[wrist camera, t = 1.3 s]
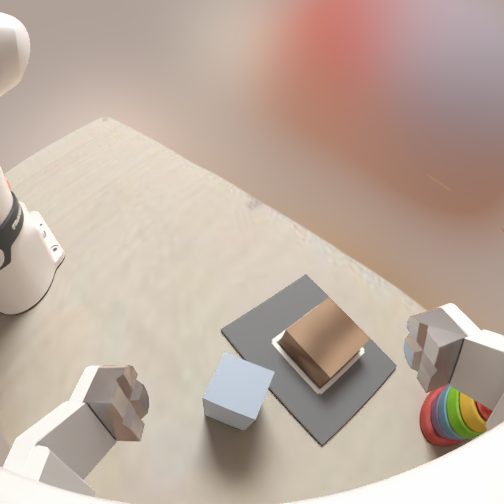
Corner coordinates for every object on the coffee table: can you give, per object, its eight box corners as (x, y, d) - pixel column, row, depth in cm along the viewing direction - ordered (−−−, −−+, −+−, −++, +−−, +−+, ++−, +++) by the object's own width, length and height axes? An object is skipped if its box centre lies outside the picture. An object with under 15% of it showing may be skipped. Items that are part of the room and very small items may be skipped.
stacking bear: (471, 433, 30) (558, 394, 17) (427, 461, 28) (526, 432, 15) (453, 376, 37) (532, 321, 24) (409, 396, 35) (497, 343, 22)
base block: (279, 342, 39) (285, 329, 36) (319, 311, 43) (328, 296, 39) (319, 386, 35) (330, 377, 32) (357, 350, 39) (370, 338, 36)
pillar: (204, 414, 32) (202, 397, 24) (221, 380, 35) (224, 351, 27) (243, 431, 31) (255, 419, 23) (258, 395, 34) (274, 371, 27)
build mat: (220, 330, 39) (221, 328, 39) (305, 275, 47) (306, 273, 47) (321, 445, 30) (322, 444, 30) (395, 366, 38) (397, 365, 38)
